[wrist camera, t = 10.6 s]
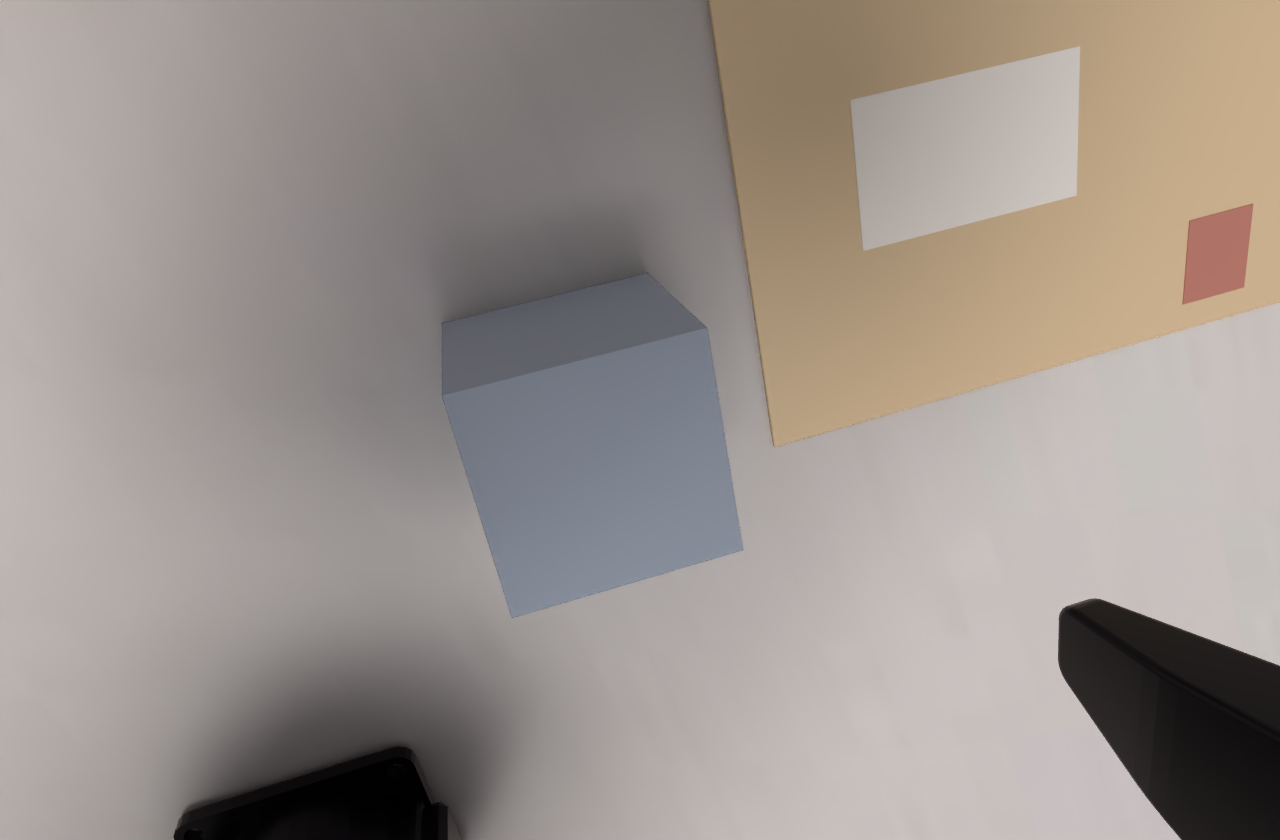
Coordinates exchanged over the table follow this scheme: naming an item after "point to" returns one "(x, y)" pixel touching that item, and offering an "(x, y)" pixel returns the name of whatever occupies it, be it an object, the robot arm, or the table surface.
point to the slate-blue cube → (590, 439)
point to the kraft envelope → (991, 186)
